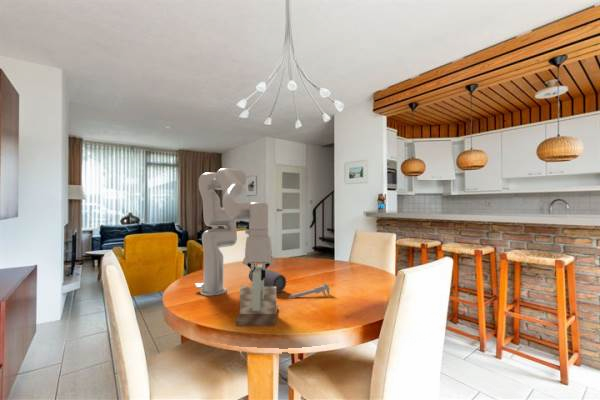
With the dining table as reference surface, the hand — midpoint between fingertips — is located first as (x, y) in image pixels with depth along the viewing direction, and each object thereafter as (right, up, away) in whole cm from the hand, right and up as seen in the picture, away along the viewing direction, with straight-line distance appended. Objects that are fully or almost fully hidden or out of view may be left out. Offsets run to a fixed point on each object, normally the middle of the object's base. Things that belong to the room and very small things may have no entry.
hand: (258, 279), depth 111 cm
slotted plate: (0, -10, 0) cm, 10 cm away
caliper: (+21, -15, +24) cm, 35 cm away
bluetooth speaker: (-1, -15, +36) cm, 39 cm away
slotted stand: (0, -15, 0) cm, 15 cm away
